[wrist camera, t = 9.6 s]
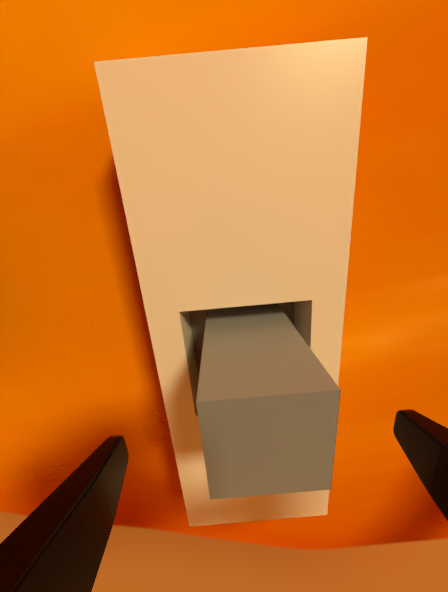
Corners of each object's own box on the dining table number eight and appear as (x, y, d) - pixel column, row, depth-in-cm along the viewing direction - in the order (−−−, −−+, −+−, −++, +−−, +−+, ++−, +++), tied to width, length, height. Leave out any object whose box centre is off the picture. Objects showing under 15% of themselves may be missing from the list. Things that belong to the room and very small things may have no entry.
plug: (277, 303, 13) (340, 389, 6) (278, 364, 14) (331, 489, 8) (207, 309, 13) (196, 402, 6) (213, 369, 14) (210, 499, 8)
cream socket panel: (321, 94, 11) (367, 37, 7) (307, 461, 18) (327, 514, 15) (131, 111, 11) (93, 61, 8) (194, 471, 18) (189, 526, 15)
